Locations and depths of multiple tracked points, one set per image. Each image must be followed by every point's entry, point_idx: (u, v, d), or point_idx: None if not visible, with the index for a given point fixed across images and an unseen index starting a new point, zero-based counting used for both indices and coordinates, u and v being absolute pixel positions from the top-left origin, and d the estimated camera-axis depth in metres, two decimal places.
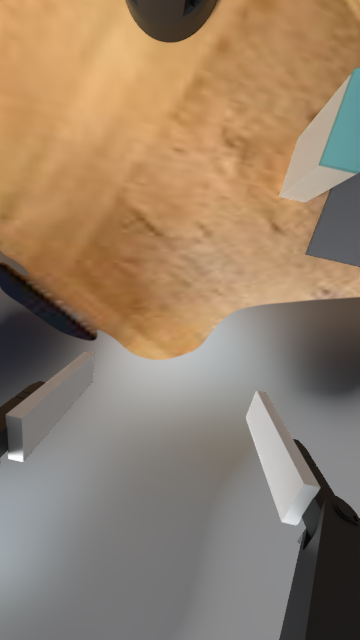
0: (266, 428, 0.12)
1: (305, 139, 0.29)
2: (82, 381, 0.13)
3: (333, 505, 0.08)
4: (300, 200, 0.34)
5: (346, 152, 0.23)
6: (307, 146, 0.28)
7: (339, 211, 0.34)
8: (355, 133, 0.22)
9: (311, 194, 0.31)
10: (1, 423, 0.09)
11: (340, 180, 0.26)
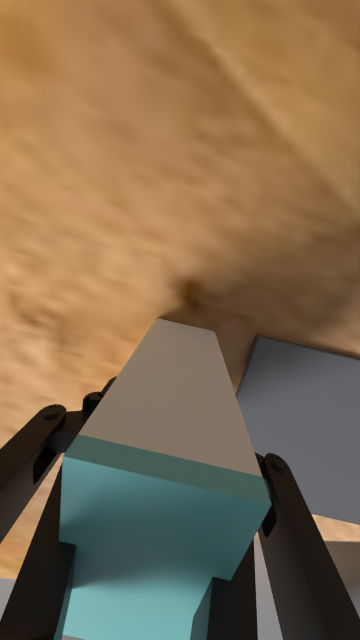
0: None
1: None
2: None
3: None
4: None
5: (124, 628, 0.07)
6: None
7: (252, 437, 0.18)
8: (136, 601, 0.06)
9: None
10: None
11: None
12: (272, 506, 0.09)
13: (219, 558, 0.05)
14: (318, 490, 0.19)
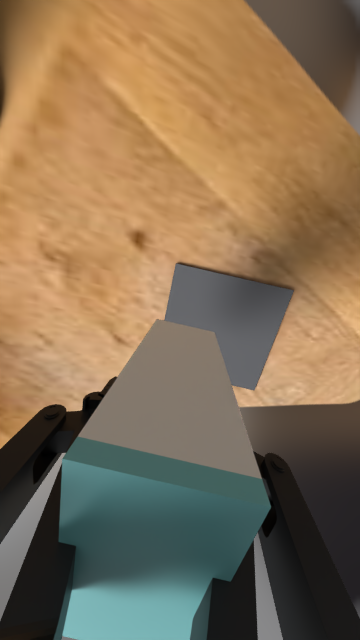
0: None
1: None
2: None
3: None
4: None
5: (124, 629, 0.07)
6: None
7: None
8: (136, 603, 0.06)
9: None
10: None
11: None
12: (272, 506, 0.09)
13: (219, 560, 0.05)
14: None
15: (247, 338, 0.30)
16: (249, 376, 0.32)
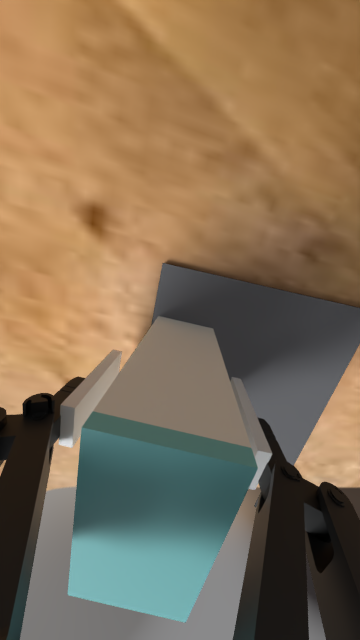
0: None
1: None
2: (112, 377, 0.15)
3: (281, 468, 0.09)
4: None
5: (130, 589, 0.07)
6: None
7: None
8: (142, 562, 0.07)
9: None
10: (55, 412, 0.10)
11: None
12: (328, 543, 0.08)
13: (214, 518, 0.06)
14: None
15: (285, 390, 0.18)
16: (286, 448, 0.20)
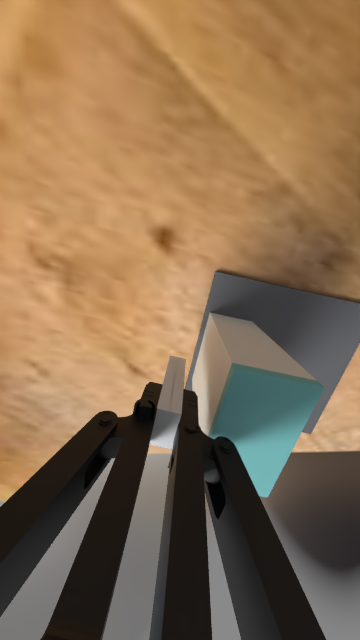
0: None
1: (208, 346, 0.18)
2: None
3: (184, 428, 0.10)
4: None
5: None
6: (205, 371, 0.17)
7: None
8: (249, 453, 0.12)
9: None
10: None
11: None
12: (222, 486, 0.09)
13: (297, 420, 0.11)
14: None
15: (307, 369, 0.23)
16: None
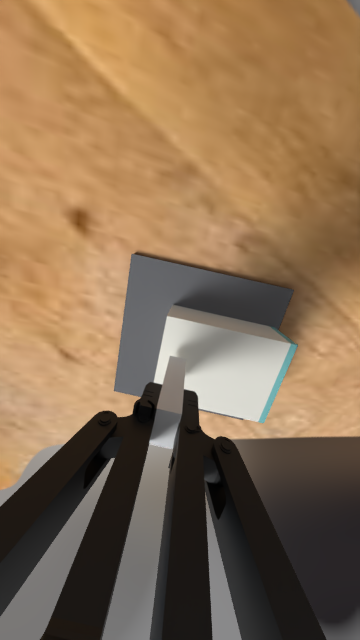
0: None
1: (204, 350, 0.17)
2: None
3: (184, 428, 0.10)
4: None
5: None
6: (217, 370, 0.18)
7: (142, 341, 0.23)
8: None
9: None
10: None
11: None
12: (223, 486, 0.09)
13: None
14: None
15: None
16: None
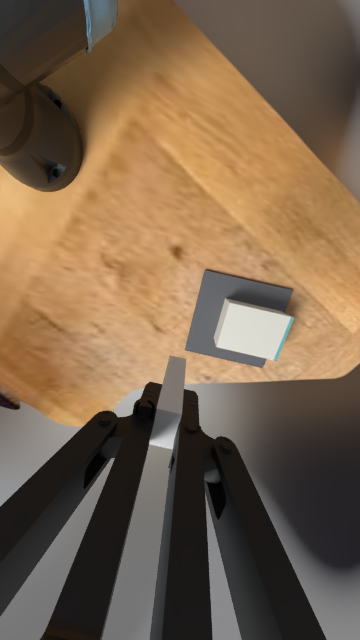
0: None
1: (247, 320, 0.35)
2: None
3: (184, 428, 0.10)
4: None
5: None
6: (253, 331, 0.35)
7: (205, 319, 0.40)
8: None
9: None
10: None
11: None
12: (223, 486, 0.09)
13: None
14: None
15: None
16: (258, 357, 0.42)
